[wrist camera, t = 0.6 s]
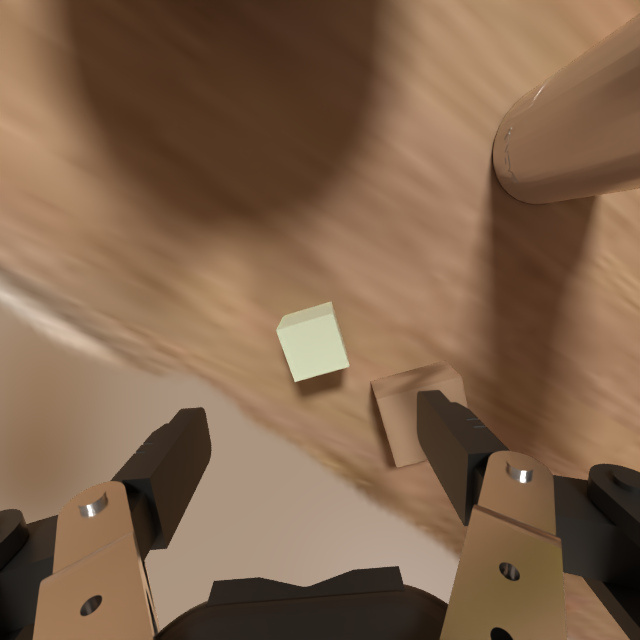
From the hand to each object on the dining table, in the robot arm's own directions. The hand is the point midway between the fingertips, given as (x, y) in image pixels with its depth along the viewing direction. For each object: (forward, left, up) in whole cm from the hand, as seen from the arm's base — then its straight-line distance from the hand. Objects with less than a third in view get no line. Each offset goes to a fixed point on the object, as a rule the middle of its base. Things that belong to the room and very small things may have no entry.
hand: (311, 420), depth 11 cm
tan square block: (-7, +13, -19) cm, 24 cm away
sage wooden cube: (+1, +2, -19) cm, 19 cm away
